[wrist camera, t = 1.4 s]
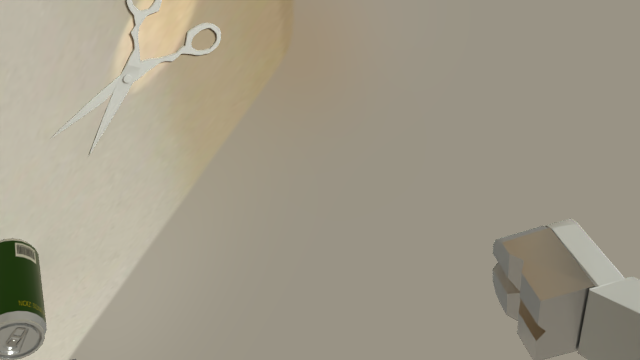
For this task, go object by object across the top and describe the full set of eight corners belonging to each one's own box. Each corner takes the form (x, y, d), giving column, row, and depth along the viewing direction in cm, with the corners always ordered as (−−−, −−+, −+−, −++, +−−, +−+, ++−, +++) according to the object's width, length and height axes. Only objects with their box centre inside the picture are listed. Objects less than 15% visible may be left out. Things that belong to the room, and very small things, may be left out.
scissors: (236, 22, 57) (116, 173, 61) (233, 20, 58) (114, 169, 61) (148, -50, 50) (17, 125, 54) (146, -52, 51) (16, 121, 54)
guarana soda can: (-6, 230, 59) (-4, 314, 50) (47, 243, 62) (58, 324, 53) (-29, 269, 60) (-31, 358, 51) (24, 280, 63) (31, 365, 55)
